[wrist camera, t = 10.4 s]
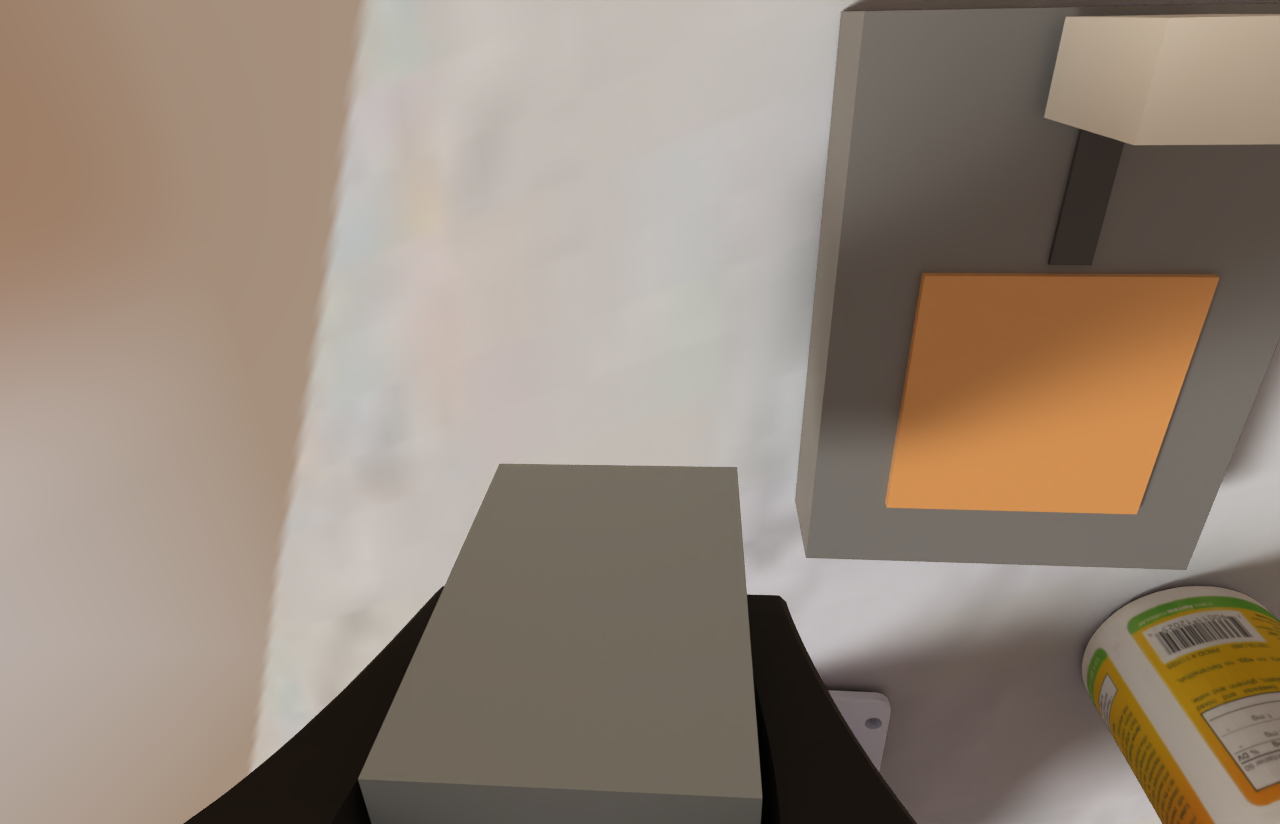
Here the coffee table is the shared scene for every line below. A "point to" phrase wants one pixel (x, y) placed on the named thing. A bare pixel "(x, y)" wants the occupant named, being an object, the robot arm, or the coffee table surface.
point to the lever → (1170, 78)
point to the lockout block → (582, 660)
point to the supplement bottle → (1194, 702)
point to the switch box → (1023, 308)
